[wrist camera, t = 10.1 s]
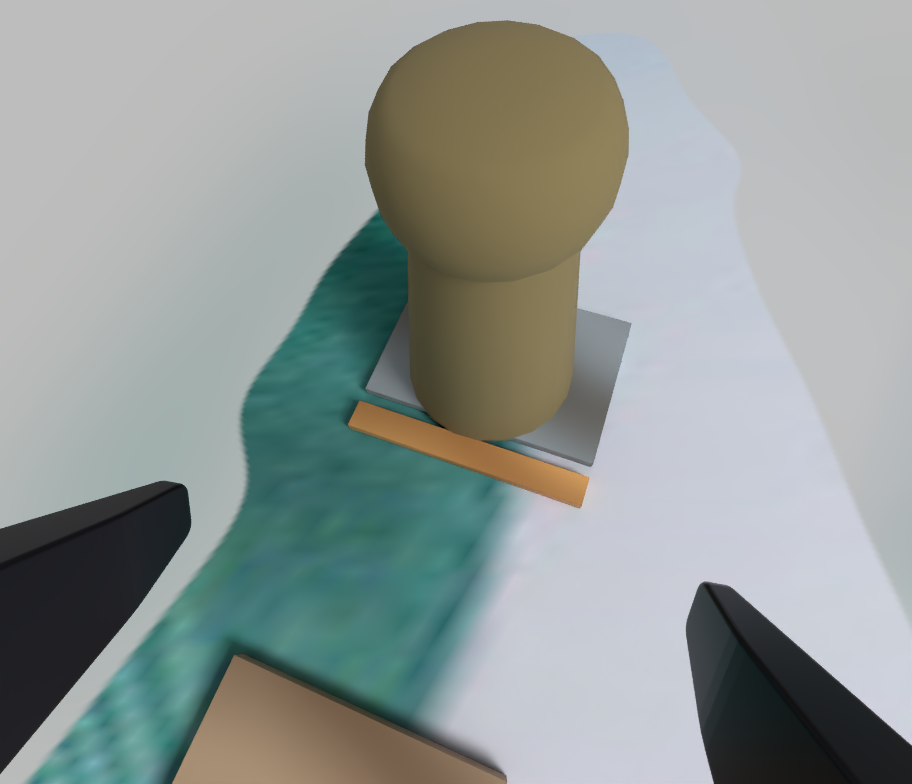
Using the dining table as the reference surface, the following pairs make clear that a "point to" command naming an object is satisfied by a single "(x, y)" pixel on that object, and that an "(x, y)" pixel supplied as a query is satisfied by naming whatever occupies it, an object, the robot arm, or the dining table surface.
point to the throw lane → (341, 723)
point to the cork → (495, 212)
